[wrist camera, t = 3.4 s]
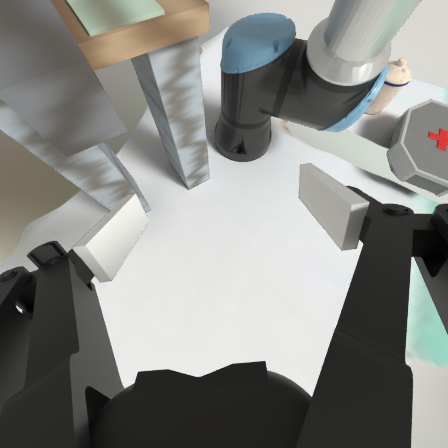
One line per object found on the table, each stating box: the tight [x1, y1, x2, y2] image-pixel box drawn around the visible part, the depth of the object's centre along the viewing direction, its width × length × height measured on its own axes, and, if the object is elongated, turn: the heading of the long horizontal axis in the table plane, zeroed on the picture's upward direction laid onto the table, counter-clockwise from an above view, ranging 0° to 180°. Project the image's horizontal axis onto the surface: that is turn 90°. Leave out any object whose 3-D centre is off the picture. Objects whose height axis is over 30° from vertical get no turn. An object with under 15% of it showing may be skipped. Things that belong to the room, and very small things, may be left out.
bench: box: [0, 0, 210, 213], centre depth 31 cm, size 24×12×30 cm, turn 123°
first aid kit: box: [387, 99, 448, 197], centre depth 46 cm, size 18×8×25 cm
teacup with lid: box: [364, 58, 412, 114], centre depth 51 cm, size 12×9×12 cm
